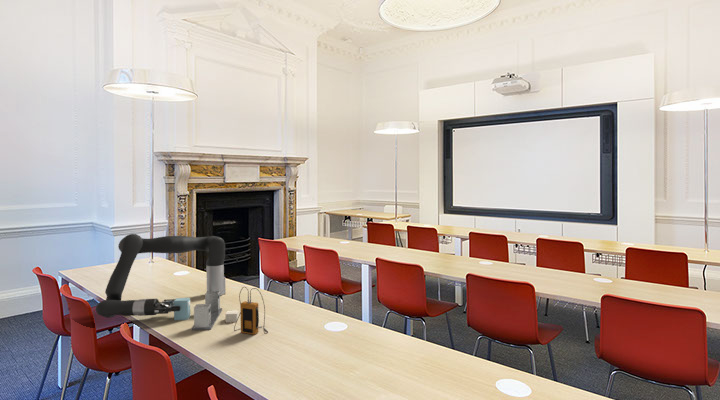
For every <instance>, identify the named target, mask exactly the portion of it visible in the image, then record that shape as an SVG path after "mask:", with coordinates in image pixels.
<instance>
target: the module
mask: <svg viewBox="0 0 720 400" xmlns="http://www.w3.org/2000/svg"><path fill="white" fill-rule="evenodd" d="M174 299H175V300H174V302H173V303H174V306H180V311H173V319H174V321H185V320H189V318H190V317H191V297H178V298H174Z"/></svg>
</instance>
